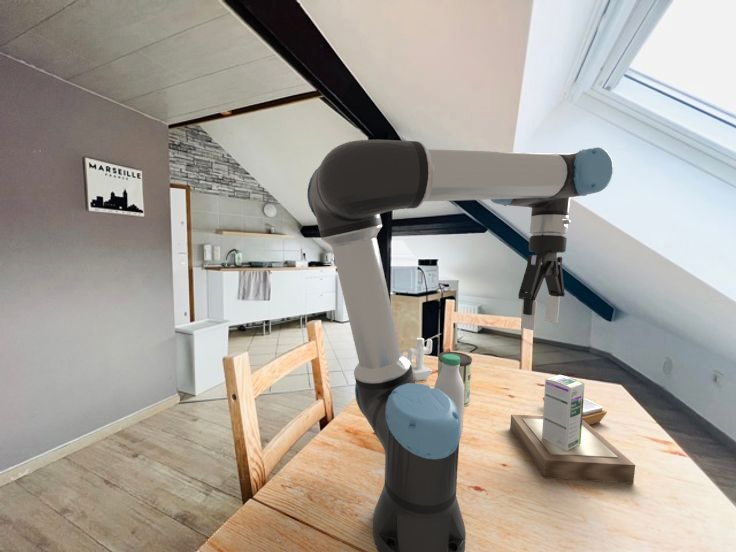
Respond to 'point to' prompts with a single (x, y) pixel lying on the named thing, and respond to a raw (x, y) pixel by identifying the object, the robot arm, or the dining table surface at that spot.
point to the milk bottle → (452, 383)
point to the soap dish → (592, 412)
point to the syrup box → (563, 411)
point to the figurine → (420, 359)
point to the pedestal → (572, 454)
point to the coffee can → (461, 372)
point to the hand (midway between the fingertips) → (540, 325)
